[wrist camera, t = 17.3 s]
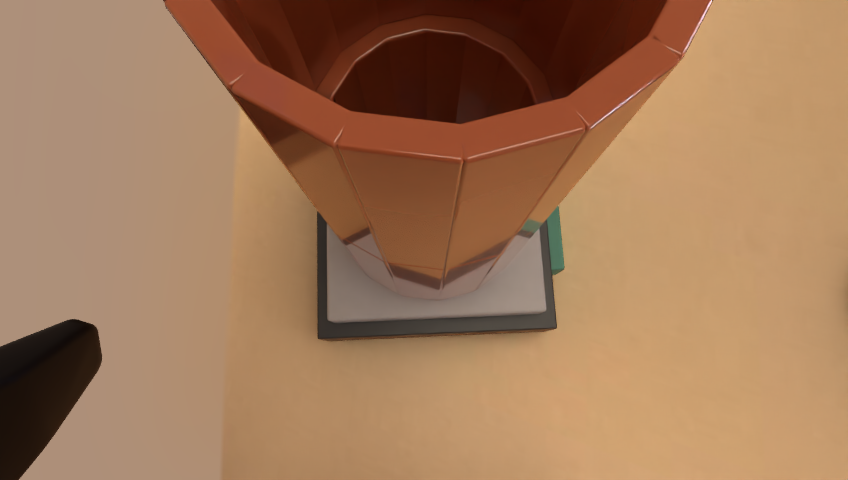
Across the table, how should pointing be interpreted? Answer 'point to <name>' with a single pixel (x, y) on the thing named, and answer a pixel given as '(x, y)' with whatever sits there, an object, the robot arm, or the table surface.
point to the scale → (462, 315)
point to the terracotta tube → (439, 113)
